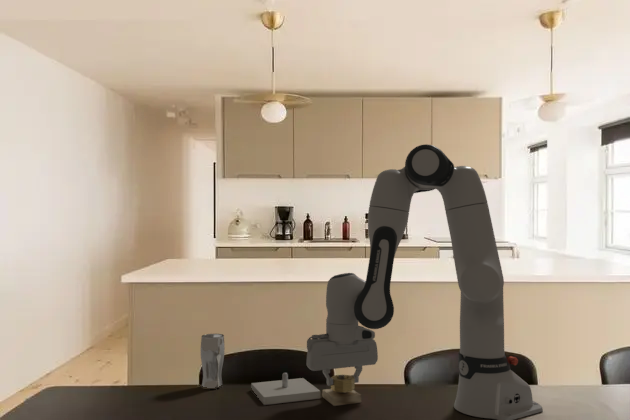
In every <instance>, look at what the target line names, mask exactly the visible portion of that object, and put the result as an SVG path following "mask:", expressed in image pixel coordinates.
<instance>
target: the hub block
mask: <svg viewBox="0 0 630 420" xmlns="http://www.w3.org/2000/svg"><path fill="white" fill-rule="evenodd" d="M281 377H282V378H281V380H280V379H279V380H271V381H270V380H268V381H261V382H260V381H259V382H258V381H257V382H251V384H250V389H251V388H252V390H253V391H254V393H255V394H256V395H257V396H256V395H255V394H254V393H253V394H254V395H255V396H256V397H257V399H258V398H259V399H258V400H259V401H260V402H261V403H262V404H263V406H266V405H276V404H282V403H283V404H285V403H292V402H302V401H309V400H310V401H311V400H318V399H319V400H320V399H321V390H320V389H319V388H317V387H316V386H315V385H313V384H312V383H310V382H309V381H307V379H305V378H304V377H302V378H301V377H299V378H290V379H289V373H288V372H283V373H282V376H281Z"/></svg>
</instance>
